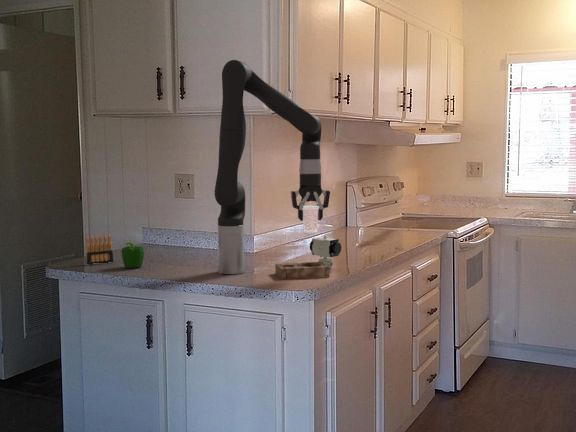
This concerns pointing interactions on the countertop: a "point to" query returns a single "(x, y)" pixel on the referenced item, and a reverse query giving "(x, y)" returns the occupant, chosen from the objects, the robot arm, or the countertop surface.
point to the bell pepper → (132, 256)
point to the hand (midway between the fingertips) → (310, 220)
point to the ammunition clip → (99, 250)
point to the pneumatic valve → (325, 249)
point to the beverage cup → (310, 218)
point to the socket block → (301, 270)
